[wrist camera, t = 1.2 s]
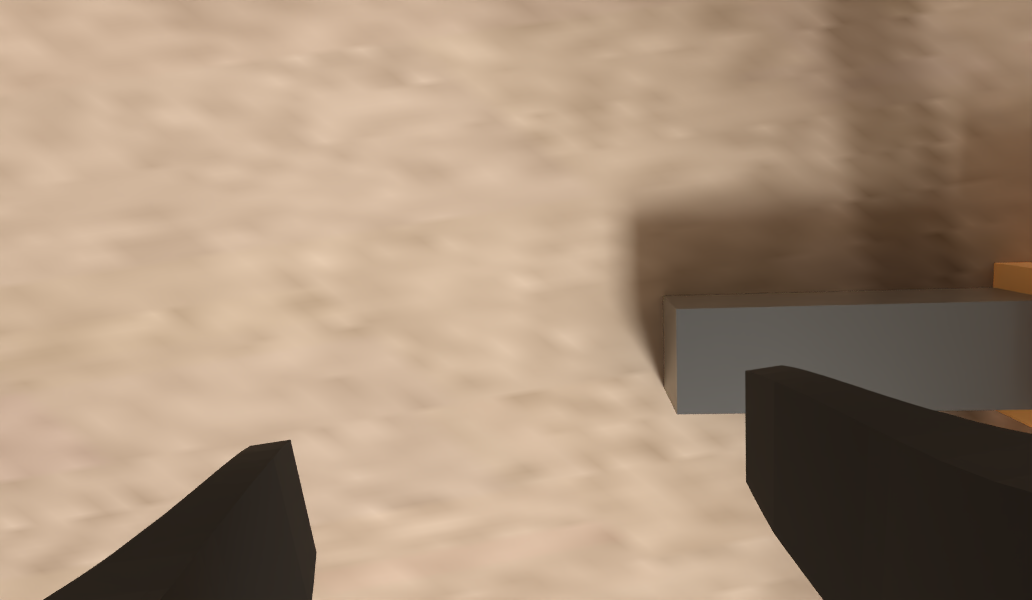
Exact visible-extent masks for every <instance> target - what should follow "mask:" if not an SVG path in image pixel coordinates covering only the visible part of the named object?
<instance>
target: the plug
mask: <svg viewBox="0 0 1032 600" xmlns="http://www.w3.org/2000/svg"><path fill="white" fill-rule="evenodd" d="M663 339H664V389H665V391H666V393H667V395H668V397H669V399H670V401H671V403H672V405H673V407H674V409H675V411H676V413H677V414H735V413H746V411H745V371H747V370H753V369H760V368H766V367H773V366H779V365H784V366H790V367H795V368H799V369H803V370H807V371H810V372H814V373H817V374H820V375H824V376H827V377H830V378H833V379H836V380H839V381H842V382H845V383H848V384H852V385H855V386H858V387H861V388H864V389H867V390H870V391H873V392H876V393H879V394H882V395H885V396H888V397H892V398H895V399H898V400H901V401H904V402H908V403H911V404H914V405H918V406H921V407H924V408H928V409H931V410H935V411H964V410H996V411H998V412H1000V413H1002V414H1004V415H1007V416H1009V417H1011V418H1013V419H1015V420H1017V421H1019V422H1021V423H1023V424H1025V425H1027V426H1029V427H1031V428H1032V262H1009V263H994V280H993V287H986V288H947V289H908V290H869V291H831V292H792V293H753V294H714V295H675V296H663Z"/></svg>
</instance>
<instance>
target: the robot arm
mask: <svg viewBox="0 0 1032 600" xmlns="http://www.w3.org/2000/svg"><path fill="white" fill-rule="evenodd" d="M745 411H746V482H747V484H748V486H749V488H750V490H751V492H752V494H753V496H754V498H755V500H756V502H757V504H758V505H759V507H760V509H761V511H762V513H763V515H764V516H765V518H766V520H767V522H768V524H769V525H770V527H771V529H772V531H773V532H774V534H775V535H776V537H777V538H778V539H779V541H780V542H781V544H782V545H783V546H784V548H785V549H786V550H787V552H788V553H789V554H790V556H791V557H792V559H793V560H794V561H795V563H796V564H797V565H798V567H799V568H800V569H801V571H802V572H803V573H804V575H805V576H806V577H807V579H808V580H809V581H810V583H811V584H812V585H813V587H814V588H815V589H816V591H817V592H818V593H819V595H820V596H821V597H822V599H823V600H1032V434H1029V433H1024V432H1019V431H1014V430H1009V429H1005V428H1000V427H996V426H991V425H987V424H983V423H979V422H975V421H971V420H967V419H964V418H960V417H956V416H953V415H949V414H946V413H942V412H938V411H935V410H931V409H928V408H924V407H921V406H918V405H914V404H911V403H908V402H904V401H901V400H898V399H895V398H892V397H888V396H885V395H882V394H879V393H876V392H873V391H870V390H867V389H864V388H861V387H858V386H855V385H852V384H848V383H845V382H842V381H839V380H836V379H833V378H830V377H827V376H824V375H820V374H817V373H814V372H810V371H807V370H803V369H799V368H795V367H790V366H784V365H779V366H773V367H766V368H760V369H753V370H747V371H745ZM315 563H316V549H315V544H314V540H313V536H312V531H311V527H310V523H309V518H308V514H307V510H306V505H305V501H304V497H303V492H302V488H301V484H300V479H299V475H298V471H297V466H296V462H295V458H294V453H293V449H292V445H291V440H286V441H280V442H273V443H266V444H260V445H253V446H249V447H248V448H246V449H245V450H243V451H241V452H240V453H239V454H237V455H236V456H235V457H233V458H232V459H231V460H230V461H228V462H227V463H226V464H225V465H223V466H222V467H221V468H220V469H219V470H217V471H216V472H215V473H214V474H213V475H211V476H210V477H209V478H208V479H207V480H205V481H204V482H203V483H202V484H201V485H199V486H198V487H197V488H196V489H195V490H193V491H192V492H191V493H190V494H188V495H187V496H186V497H185V498H184V499H182V500H181V501H180V502H179V503H178V504H176V505H175V506H174V507H173V508H172V509H170V510H169V511H168V512H167V513H165V514H164V515H163V516H162V517H160V518H159V519H158V520H156V521H155V522H154V523H152V524H151V525H150V526H148V527H147V528H146V529H144V530H143V531H142V532H141V533H139V534H138V535H137V536H135V537H134V538H133V539H131V540H130V541H129V542H127V543H126V544H125V545H123V546H122V547H121V548H119V549H118V550H117V551H116V552H114V553H113V554H112V555H110V556H109V557H107V558H106V559H105V560H103V561H102V562H100V563H99V564H97V565H96V566H94V567H93V568H92V569H90V570H89V571H87V572H86V573H84V574H83V575H81V576H80V577H78V578H77V579H75V580H74V581H72V582H70V583H69V584H67V585H66V586H64V587H63V588H61V589H59V590H58V591H56V592H55V593H53V594H52V595H50V596H48V597H47V598H45V599H44V600H312V594H313V585H314V574H315Z"/></svg>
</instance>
